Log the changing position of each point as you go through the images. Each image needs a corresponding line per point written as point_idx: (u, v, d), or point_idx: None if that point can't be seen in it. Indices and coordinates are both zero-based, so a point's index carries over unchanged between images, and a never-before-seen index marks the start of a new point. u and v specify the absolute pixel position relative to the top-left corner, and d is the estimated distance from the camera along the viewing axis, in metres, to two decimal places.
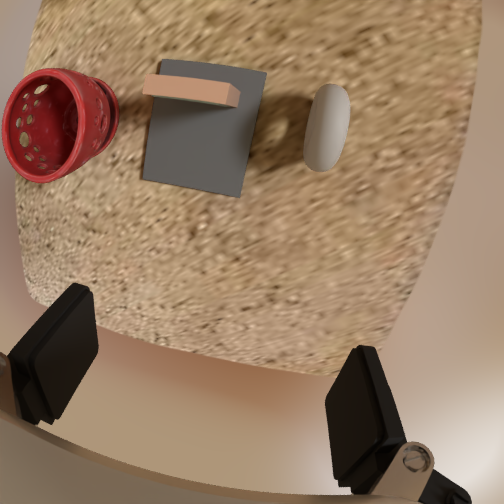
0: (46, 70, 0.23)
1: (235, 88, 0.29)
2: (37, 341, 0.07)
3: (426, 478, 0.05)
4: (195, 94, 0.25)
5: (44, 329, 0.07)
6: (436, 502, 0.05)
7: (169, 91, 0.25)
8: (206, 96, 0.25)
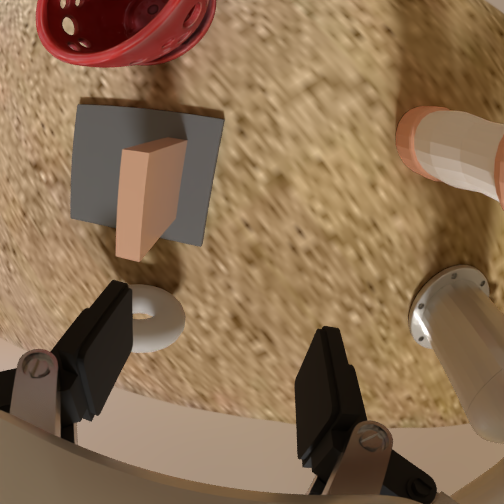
0: None
1: (157, 238, 0.26)
2: (85, 338, 0.07)
3: (387, 456, 0.06)
4: (122, 222, 0.21)
5: (90, 326, 0.08)
6: (396, 485, 0.06)
7: (124, 188, 0.20)
8: (121, 235, 0.21)
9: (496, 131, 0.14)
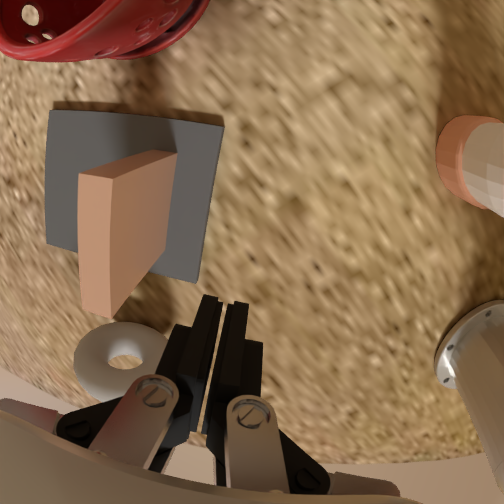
0: None
1: (138, 281, 0.20)
2: (201, 358, 0.08)
3: (275, 428, 0.07)
4: (86, 269, 0.15)
5: (201, 344, 0.08)
6: None
7: (84, 226, 0.14)
8: (86, 285, 0.16)
9: None
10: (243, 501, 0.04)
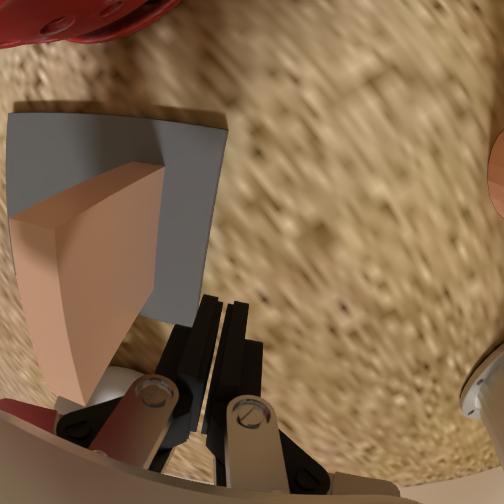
0: None
1: (119, 342, 0.15)
2: (201, 358, 0.08)
3: (275, 427, 0.07)
4: (42, 349, 0.09)
5: (200, 344, 0.08)
6: None
7: (28, 295, 0.08)
8: (46, 366, 0.10)
9: None
10: (243, 501, 0.04)
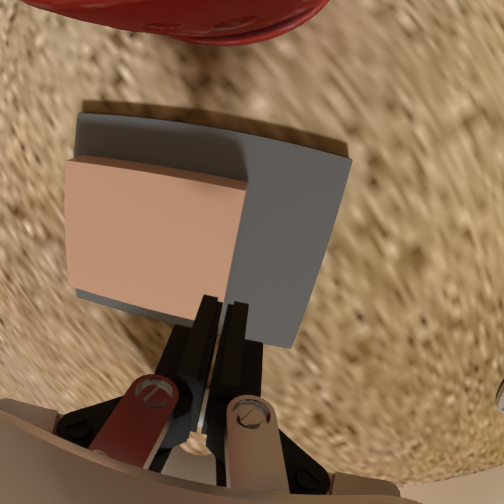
0: None
1: (130, 303, 0.18)
2: (201, 358, 0.08)
3: (275, 428, 0.07)
4: None
5: (200, 344, 0.08)
6: None
7: None
8: None
9: None
10: (243, 501, 0.04)
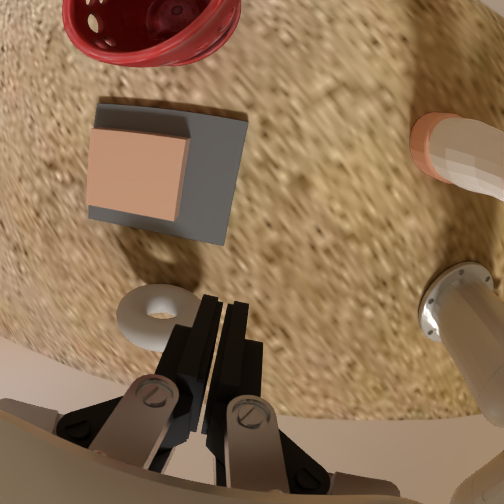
0: None
1: (123, 211, 0.30)
2: (201, 358, 0.08)
3: (275, 428, 0.07)
4: None
5: (201, 344, 0.08)
6: None
7: None
8: None
9: None
10: (243, 501, 0.04)
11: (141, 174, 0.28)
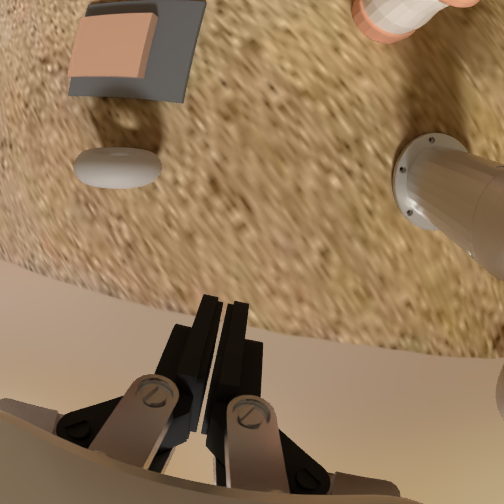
0: None
1: (96, 76, 0.29)
2: (201, 358, 0.08)
3: (275, 427, 0.07)
4: None
5: (200, 344, 0.08)
6: None
7: None
8: None
9: None
10: (243, 501, 0.04)
11: (115, 43, 0.27)
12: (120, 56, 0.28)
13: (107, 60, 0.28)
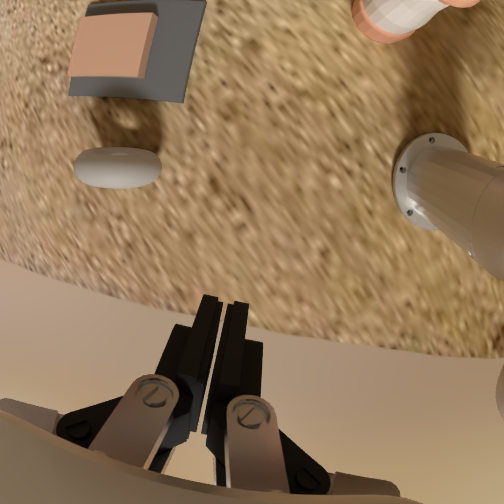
0: None
1: (96, 75, 0.29)
2: (201, 358, 0.08)
3: (275, 428, 0.07)
4: None
5: (201, 344, 0.08)
6: None
7: None
8: None
9: None
10: (243, 501, 0.04)
11: (115, 43, 0.27)
12: (120, 56, 0.28)
13: (107, 60, 0.28)
